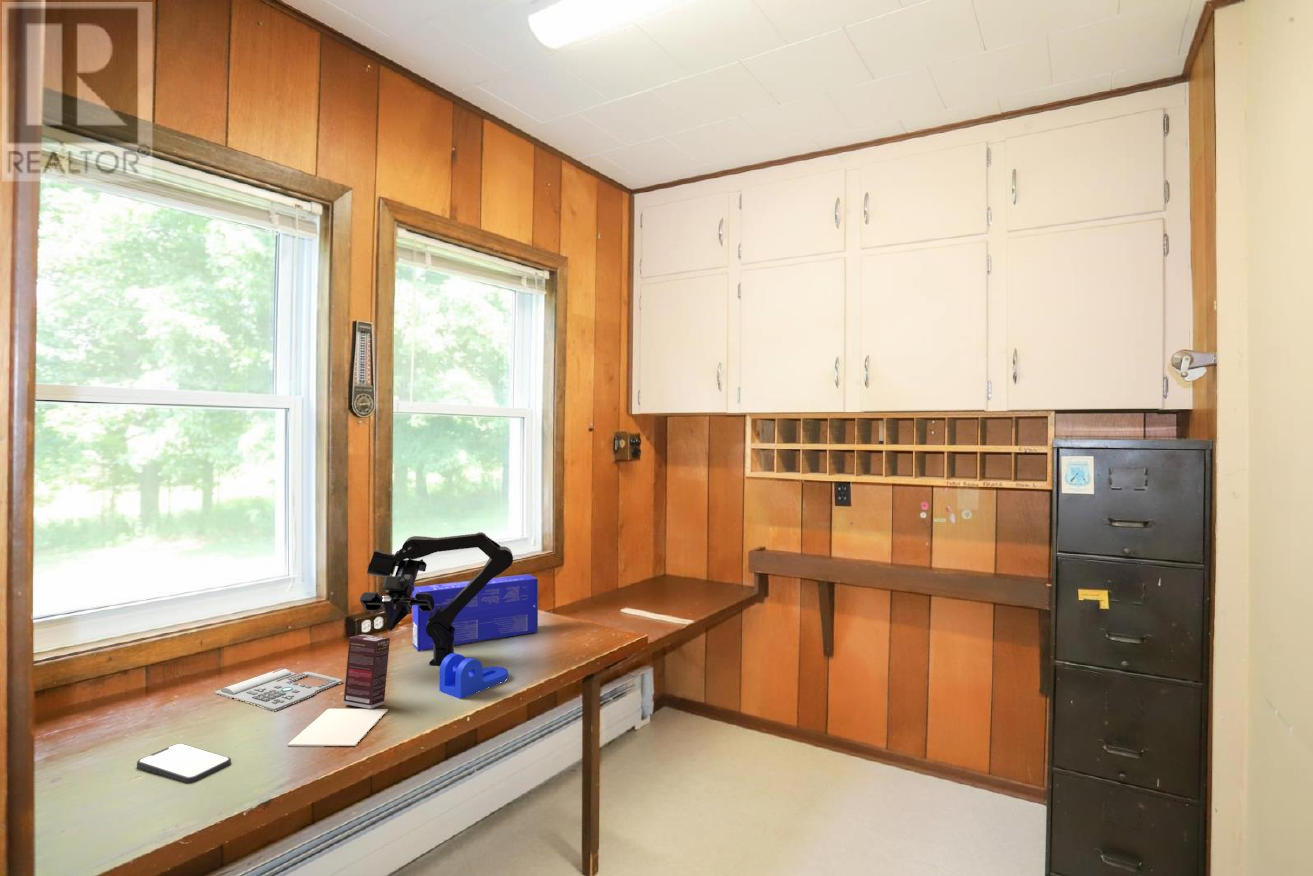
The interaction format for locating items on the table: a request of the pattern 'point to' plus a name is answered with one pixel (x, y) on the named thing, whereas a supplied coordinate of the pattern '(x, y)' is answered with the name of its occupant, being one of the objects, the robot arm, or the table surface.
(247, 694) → the office telephone
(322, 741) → the mat
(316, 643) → the table surface
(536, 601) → the toner cartridge box
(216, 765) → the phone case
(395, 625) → the robot arm
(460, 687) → the bracket
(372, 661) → the supplement box
